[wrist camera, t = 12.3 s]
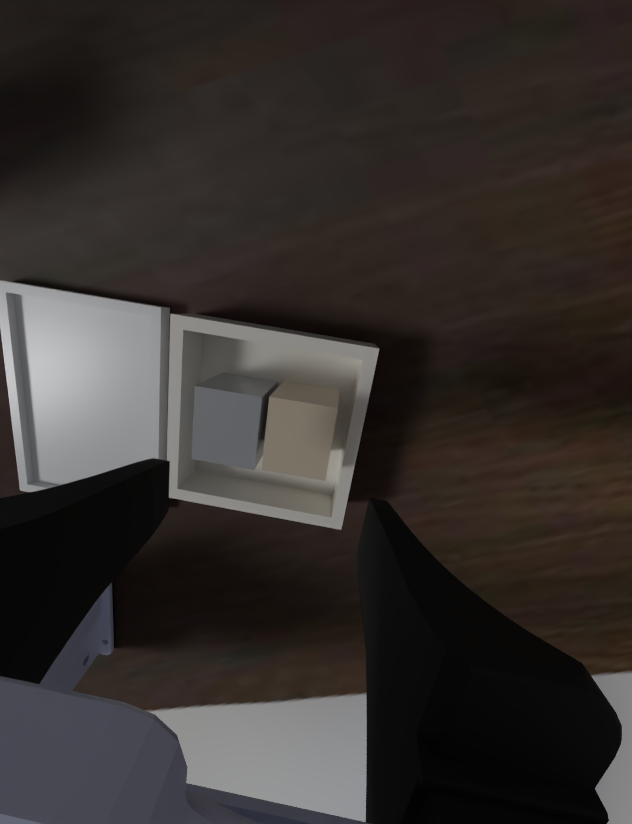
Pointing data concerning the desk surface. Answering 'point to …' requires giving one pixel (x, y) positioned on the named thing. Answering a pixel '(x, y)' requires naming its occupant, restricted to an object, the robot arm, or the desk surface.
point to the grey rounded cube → (231, 419)
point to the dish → (278, 361)
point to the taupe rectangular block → (300, 430)
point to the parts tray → (82, 382)
